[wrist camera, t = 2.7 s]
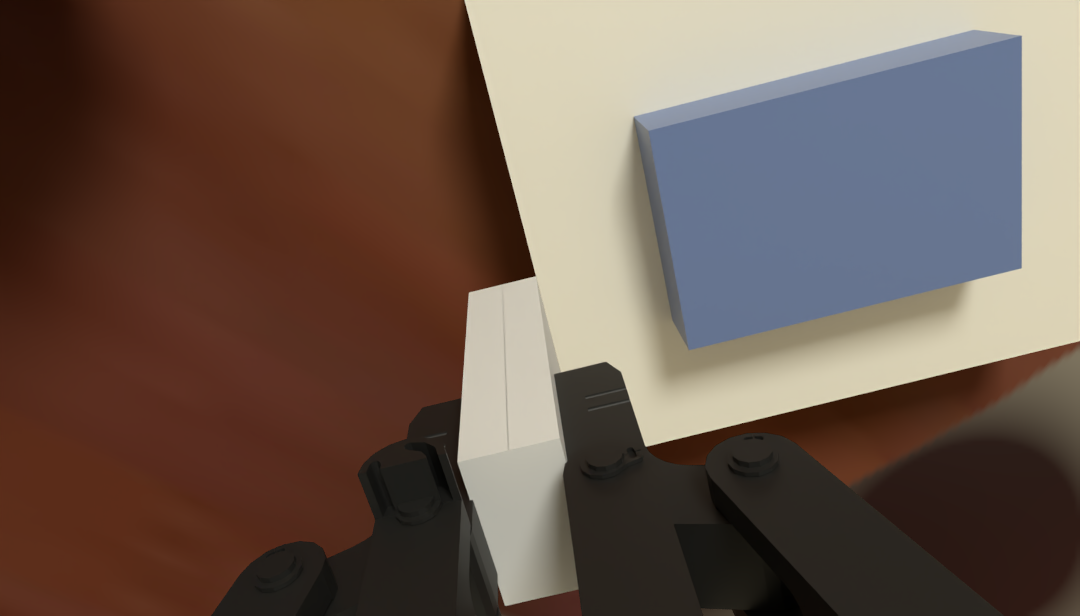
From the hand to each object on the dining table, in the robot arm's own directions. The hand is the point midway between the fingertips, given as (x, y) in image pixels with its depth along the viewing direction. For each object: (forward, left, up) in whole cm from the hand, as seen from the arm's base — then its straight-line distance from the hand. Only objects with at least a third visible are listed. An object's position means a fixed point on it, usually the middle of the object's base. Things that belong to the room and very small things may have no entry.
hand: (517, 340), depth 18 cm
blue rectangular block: (+9, 0, -5) cm, 10 cm away
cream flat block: (+9, 0, -9) cm, 12 cm away
